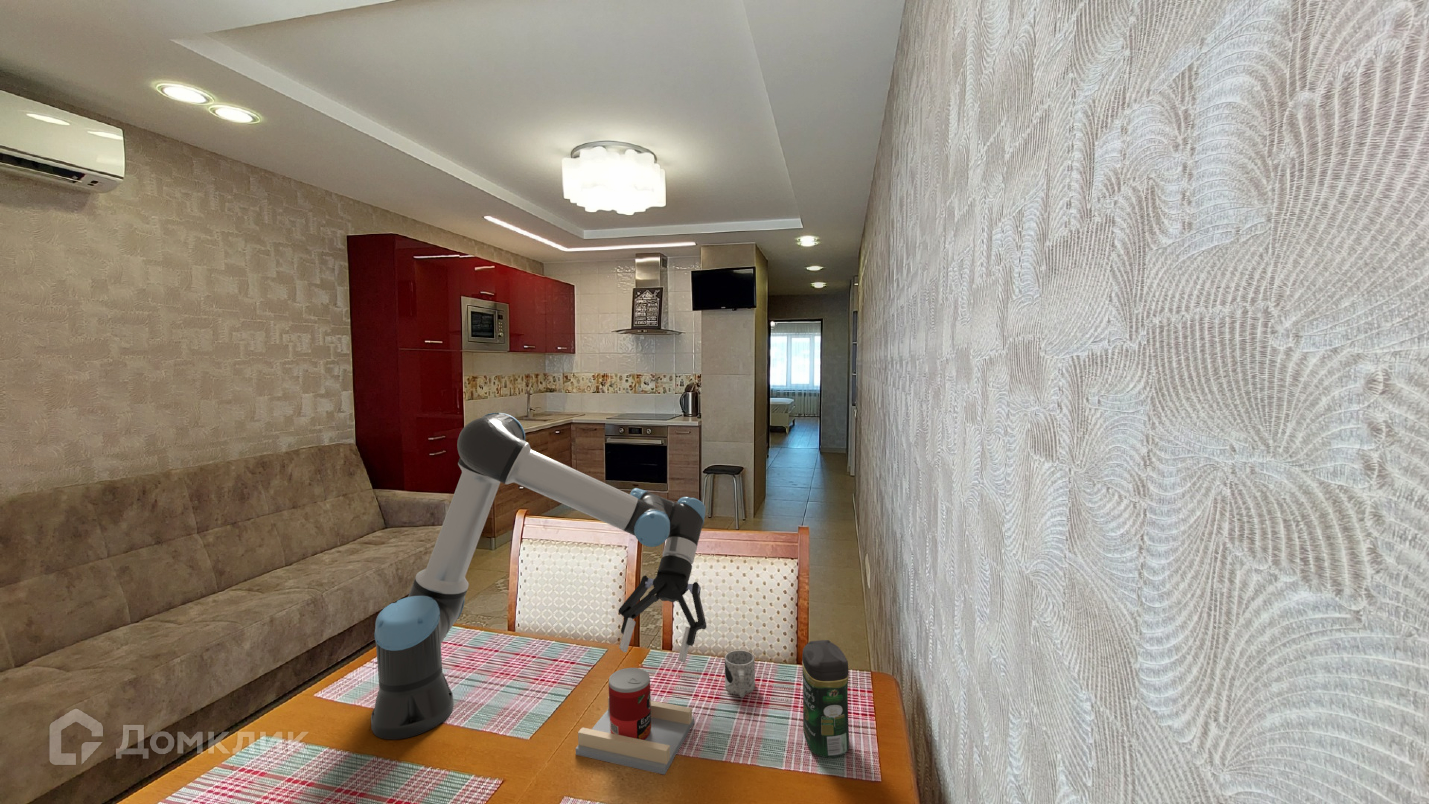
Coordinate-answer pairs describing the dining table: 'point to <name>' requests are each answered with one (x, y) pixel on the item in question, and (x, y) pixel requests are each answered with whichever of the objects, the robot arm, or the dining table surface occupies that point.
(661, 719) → the track
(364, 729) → the dining table surface
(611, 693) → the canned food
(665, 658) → the dining table surface
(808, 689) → the coffee jar
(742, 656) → the mug
